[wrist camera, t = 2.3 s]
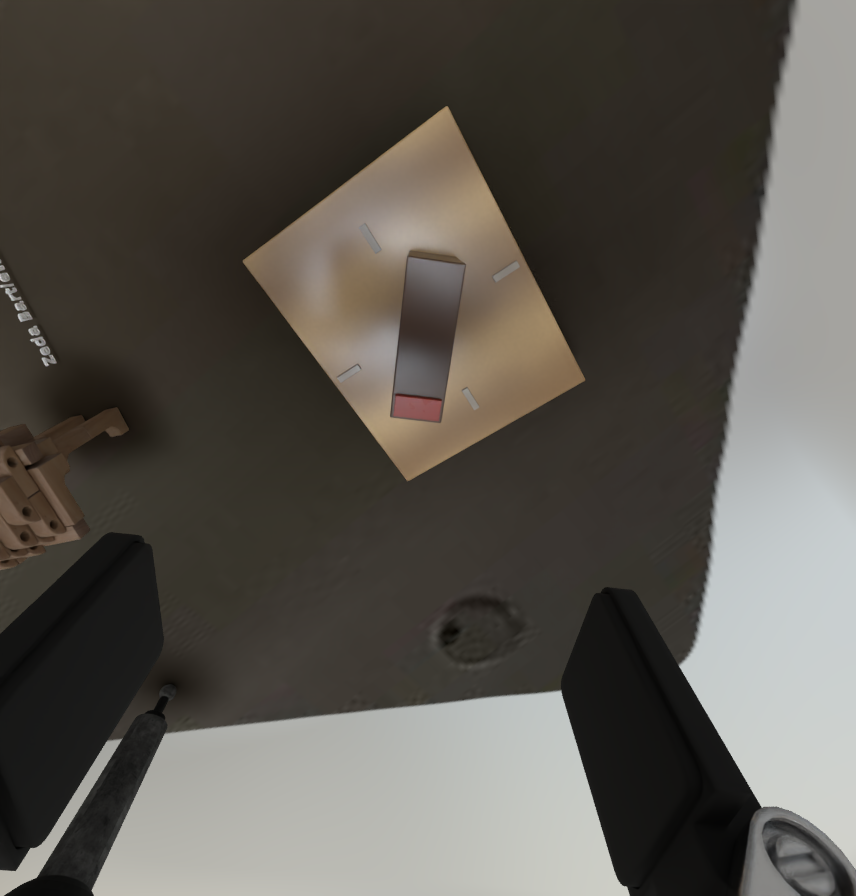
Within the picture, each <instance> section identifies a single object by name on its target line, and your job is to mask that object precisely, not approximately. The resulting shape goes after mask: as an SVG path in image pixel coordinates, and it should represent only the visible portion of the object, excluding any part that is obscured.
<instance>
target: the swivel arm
mask: <svg viewBox="0 0 856 896" xmlns="http://www.w3.org/2000/svg"><path fill="white" fill-rule="evenodd" d="M465 269H466V264H465V263H464V262H462V261H461V260H459V259H458V258H457V257H453V256H446V255H439V254H433V253H426V252H419V251H412V250H410V251H409V253H408V256H407V261H406V270H405V280H404V289H403V298H402V308H401V317H400V327H399V336H398V345H397V355H396V364H395V373H394V383H393V392H392V402H391V411H390V417H392V418H400V419H409V420H417V421H425V422H434V423H441V421H442V415H443V408H444V402H445V396H446V389H447V383H448V377H449V370H450V364H451V357H452V351H453V345H454V338H455V332H456V326H457V319H458V313H459V307H460V300H461V294H462V288H463V281H464V275H465Z"/></svg>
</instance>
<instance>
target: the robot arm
mask: <svg viewBox="0 0 856 896" xmlns="http://www.w3.org/2000/svg"><path fill="white" fill-rule="evenodd" d="M163 642H164V636H163V629H162V621H161V613H160V606H159V598H158V590H157V583H156V575H155V567H154V559H153V552H152V547H151V545H150V544H146V543H145V542H144V539H143V538H142V536H139V535H131V534H122V533H113V532H110V533H107V534H106V535H104V536H103V537H102V538H101V539H100V540H99V541H98V542H97V543H95V544H94V545H93V546H92V547H91V548H90V549H89V550H88V551H87V552H86V553H85V554H84V555H83V556H82V557H81V558H80V559H79V560H78V561H77V562H76V563H75V564H74V565H72V566H71V567H70V568H69V569H68V570H67V571H66V572H65V573H64V574H63V575H62V576H61V577H60V578H59V579H58V580H57V581H56V582H55V583H54V584H53V585H52V586H51V587H49V588H48V589H47V590H46V591H45V592H44V593H43V594H42V595H41V596H40V597H39V598H38V599H37V600H36V601H35V602H34V603H33V604H31V605H30V606H29V607H28V608H27V609H26V610H25V611H24V612H23V613H22V614H21V615H20V616H19V617H18V618H17V619H16V620H14V621H13V622H12V623H11V624H10V625H9V626H8V627H7V628H6V629H5V630H4V631H3V632H2V633H1V634H0V870H9V871H16V870H17V868H18V867H19V865H20V863H21V862H22V860H23V859H24V857H25V856H26V854H27V853H28V851H29V849H30V848H35V847H38V846H39V845H41V844H42V842H43V841H44V840H45V839H46V838H47V836H48V835H49V833H50V832H51V830H52V829H53V827H54V825H55V824H56V822H57V821H58V819H59V817H60V816H61V814H62V813H63V811H64V809H65V808H66V806H67V804H68V803H69V801H70V800H71V798H72V796H73V795H74V793H75V791H76V790H77V788H78V787H79V785H80V783H81V782H82V780H83V779H84V777H85V775H86V774H87V772H88V771H89V769H90V767H91V766H92V764H93V763H94V761H95V759H96V758H97V756H98V754H99V753H100V751H101V750H102V748H103V746H104V745H105V743H106V742H107V740H108V738H109V737H110V735H111V733H112V732H113V730H114V729H115V727H116V725H117V724H118V722H119V721H120V719H121V717H122V716H123V714H124V712H125V711H126V709H127V708H128V706H129V704H130V703H131V701H132V700H133V698H134V696H135V695H136V693H137V692H138V690H139V688H140V687H141V685H142V683H143V682H144V680H145V679H146V677H147V675H148V674H149V672H150V671H151V669H152V667H153V666H154V664H155V662H156V661H157V659H158V657H159V656H160V653H161V651H162V647H163ZM561 690H562V696H563V699H564V703H565V706H566V709H567V713H568V716H569V719H570V723H571V726H572V729H573V733H574V736H575V739H576V743H577V746H578V750H579V753H580V756H581V760H582V763H583V767H584V770H585V773H586V777H587V780H588V783H589V786H590V790H591V793H592V796H593V800H594V803H595V807H596V810H597V814H598V816H599V820H600V823H601V827H602V830H603V834H604V837H605V840H606V844H607V847H608V850H609V854H610V857H611V861H612V864H613V867H614V871H615V873H616V876H617V878H618V880H619V882H620V883H621V884H622V885H623V886H627V887H628V890H629V894H630V896H856V870H855V868H854V867H853V866H852V864H851V863H850V862H849V860H848V859H847V857H846V856H845V855H844V854H843V852H842V851H841V850H840V849H839V848H838V847H837V846H836V845H835V844H834V843H833V841H831V839H829V837H828V836H827V835H826V834H825V833H823V832H822V831H821V830H819V829H818V828H817V827H816V826H814V825H813V824H812V823H810V822H809V821H808V820H806V819H804V818H802V817H801V816H799V815H797V814H795V813H793V812H792V811H789V810H785V809H782V808H779V807H763V808H761V806H760V804H759V802H758V801H757V799H756V797H755V796H754V794H753V792H752V790H751V789H750V787H749V785H748V784H747V782H746V780H745V778H744V777H743V775H742V773H741V772H740V770H739V768H738V766H737V765H736V763H735V761H734V760H733V758H732V756H731V754H730V753H729V751H728V749H727V748H726V746H725V744H724V742H723V741H722V739H721V737H720V736H719V734H718V732H717V730H716V729H715V727H714V725H713V724H712V722H711V720H710V719H709V717H708V715H707V713H706V712H705V710H704V708H703V707H702V705H701V703H700V702H699V700H698V698H697V696H696V695H695V693H694V691H693V690H692V688H691V686H690V684H689V683H688V681H687V679H686V677H685V676H684V674H683V672H682V671H681V669H680V668H679V666H678V664H677V662H676V661H675V659H674V657H673V656H672V654H671V652H670V650H669V649H668V647H667V645H666V644H665V642H664V640H663V638H662V637H661V635H660V633H659V632H658V630H657V628H656V626H655V625H654V623H653V621H652V620H651V618H650V616H649V614H648V613H647V611H646V609H645V608H644V606H643V604H642V603H641V601H640V599H639V597H638V596H637V594H636V593H635V592H634V591H632V590H627V589H618V588H609V587H607V588H604V589H603V590H602V591H601V593H596V594H595V595H594V596H593V598H592V601H591V604H590V606H589V609H588V611H587V614H586V617H585V619H584V622H583V624H582V627H581V630H580V632H579V635H578V637H577V640H576V642H575V645H574V648H573V650H572V653H571V655H570V658H569V661H568V663H567V666H566V668H565V671H564V674H563V676H562V681H561Z"/></svg>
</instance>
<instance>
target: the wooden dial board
mask: <svg viewBox="0 0 856 896" xmlns="http://www.w3.org/2000/svg"><path fill="white" fill-rule="evenodd" d="M410 250H412V251H419V252H426V253H433V254H439V255H446V256H453V257H457V258H458V259H459V260H461V261H462V262H464V263H465V264H466V269H465V275H464V281H463V288H462V294H461V300H460V307H459V313H458V319H457V326H456V332H455V338H454V345H453V351H452V357H451V364H450V370H449V377H448V383H447V389H446V396H445V402H444V408H443V415H442V421H441V423H434V422H425V421H417V420H409V419H400V418H392V417H390V411H391V402H392V392H393V383H394V373H395V364H396V355H397V345H398V336H399V327H400V317H401V308H402V298H403V289H404V280H405V270H406V261H407V256H408V253H409V251H410ZM243 263H244V264H245V266H246V267H247V268H248V270H249V271H250V272H251V274H252V275H253V276H254V278H255V279H256V280H257V282H258V283H259V284H260V286H261V287H262V288H263V290H264V291H265V292H266V293H267V295H268V296H269V297H270V299H271V300H272V301H273V303H274V304H275V305H276V307H277V308H278V309H279V311H280V312H281V313H282V315H283V316H284V317H285V319H286V320H287V321H288V323H289V324H290V325H291V327H292V328H293V329H294V331H295V332H296V333H297V335H298V336H299V337H300V339H301V340H302V341H303V343H304V344H305V345H306V347H307V348H308V349H309V351H310V352H311V353H312V355H313V356H314V357H315V359H316V360H317V361H318V363H319V364H320V365H321V367H322V368H323V369H324V371H325V372H326V373H327V375H328V376H329V377H330V379H331V380H332V381H333V383H334V384H335V385H336V387H337V388H338V389H339V391H340V392H341V393H342V395H343V396H344V397H345V399H346V400H347V401H348V403H349V404H350V405H351V407H352V408H353V409H354V411H355V412H356V413H357V415H358V416H359V417H360V419H361V420H362V421H363V423H364V424H365V425H366V427H367V428H368V429H369V431H370V432H371V433H372V435H373V436H374V437H375V439H376V440H377V441H378V443H379V444H380V445H381V447H382V448H383V449H384V451H385V452H386V453H387V455H388V456H389V457H390V459H391V460H392V461H393V463H394V464H395V465H396V467H397V468H398V469H399V471H400V472H401V473H402V475H403V476H404V477H405V479H406V480H407V481H409V480H411V479H413V478H415V477H416V476H418V475H420V474H422V473H423V472H425V471H427V470H429V469H430V468H432V467H434V466H436V465H437V464H439V463H441V462H443V461H444V460H446V459H448V458H450V457H451V456H453V455H455V454H457V453H458V452H460V451H462V450H464V449H466V448H467V447H469V446H471V445H473V444H474V443H476V442H478V441H480V440H481V439H483V438H485V437H487V436H488V435H490V434H492V433H494V432H495V431H497V430H499V429H501V428H502V427H504V426H506V425H508V424H509V423H511V422H513V421H515V420H516V419H518V418H520V417H522V416H524V415H525V414H527V413H529V412H531V411H532V410H534V409H536V408H538V407H539V406H541V405H543V404H545V403H546V402H548V401H550V400H552V399H553V398H555V397H557V396H559V395H560V394H562V393H564V392H566V391H567V390H569V389H571V388H573V387H575V386H576V385H578V384H580V383H582V382H583V381H585V378H584V376H583V374H582V372H581V370H580V368H579V366H578V364H577V362H576V360H575V358H574V356H573V354H572V352H571V350H570V348H569V346H568V344H567V342H566V340H565V338H564V336H563V334H562V332H561V330H560V328H559V326H558V324H557V322H556V320H555V318H554V316H553V314H552V312H551V310H550V308H549V306H548V304H547V302H546V300H545V298H544V296H543V294H542V292H541V290H540V289H539V287H538V285H537V283H536V281H535V279H534V277H533V275H532V273H531V271H530V269H529V267H528V265H527V263H526V261H525V259H524V257H523V255H522V253H521V251H520V249H519V247H518V245H517V243H516V241H515V239H514V237H513V235H512V233H511V231H510V229H509V227H508V225H507V223H506V221H505V219H504V217H503V215H502V213H501V211H500V209H499V207H498V205H497V203H496V201H495V199H494V197H493V195H492V193H491V191H490V189H489V187H488V185H487V183H486V181H485V179H484V177H483V175H482V173H481V171H480V169H479V167H478V165H477V163H476V161H475V159H474V157H473V155H472V153H471V151H470V149H469V147H468V145H467V143H466V141H465V139H464V137H463V136H462V134H461V132H460V130H459V128H458V126H457V124H456V122H455V120H454V118H453V116H452V114H451V112H450V110H449V108H448V106H445V107H444V108H443V109H442V110H440V111H439V112H438V113H436V114H435V115H434V116H432V117H431V118H430V119H428V120H427V121H426V122H424V123H423V124H422V125H420V126H419V127H418V128H417V129H415V130H414V131H413V132H411V133H410V134H409V135H407V136H406V137H405V138H403V139H402V140H401V141H399V142H398V143H397V144H395V145H394V146H393V147H391V148H390V149H389V150H388V151H386V152H385V153H384V154H382V155H381V156H380V157H378V158H377V159H376V160H374V161H373V162H372V163H370V164H369V165H368V166H366V167H365V168H364V169H363V170H361V171H360V172H359V173H357V174H356V175H355V176H353V177H352V178H351V179H349V180H348V181H347V182H345V183H344V184H343V185H341V186H340V187H339V188H338V189H336V190H335V191H334V192H332V193H331V194H330V195H328V196H327V197H326V198H324V199H323V200H322V201H320V202H319V203H318V204H316V205H315V206H314V207H313V208H311V209H310V210H309V211H307V212H306V213H305V214H303V215H302V216H301V217H299V218H298V219H297V220H295V221H294V222H293V223H291V224H290V225H289V226H288V227H286V228H285V229H284V230H282V231H281V232H280V233H278V234H277V235H276V236H274V237H273V238H272V239H270V240H269V241H268V242H266V243H265V244H264V245H263V246H261V247H260V248H259V249H257V250H256V251H255V252H253V253H252V254H251V255H249V256H248V257H247V258H245V259H244V260H243Z"/></svg>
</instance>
